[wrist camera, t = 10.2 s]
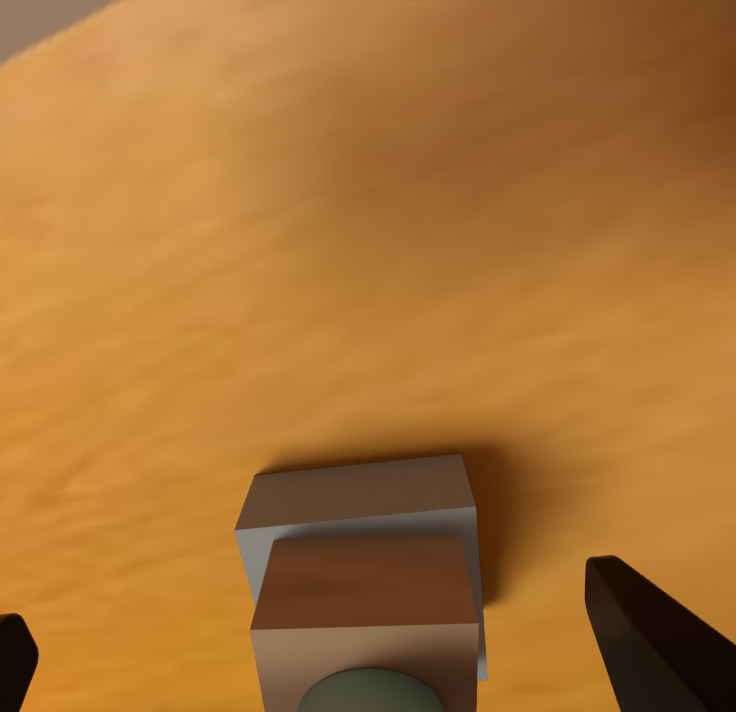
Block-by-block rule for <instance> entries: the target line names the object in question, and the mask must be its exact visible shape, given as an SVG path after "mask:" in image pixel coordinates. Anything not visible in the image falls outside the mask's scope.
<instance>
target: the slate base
mask: <svg viewBox="0 0 736 712" xmlns="http://www.w3.org/2000/svg"><path fill="white" fill-rule="evenodd" d="M234 531H235V534H236V538H237V541H238V545H239V549H240V552H241V556H242V560H243V563H244V567H245V571H246V574H247V578H248V581H249V585H250V589H251V592H252V596H253V600H254V603H255V607H256V605H257V601H258V598H259V594H260V590H261V586H262V582H263V578H264V574H265V571H266V567H267V563H268V559H269V555H270V551H271V548H272V544H273V541H275V540H304V539H333V538H362V537H391V536H420V535H449V534H460V538H461V542H462V547H463V552H464V556H465V561H466V566H467V570H468V575H469V580H470V584H471V589H472V594H473V598H474V603H475V608H476V612H477V617H478V622H479V637H478V672H477V681H482V680H488V675H487V660H486V646H485V631H484V617H483V603H482V588H481V574H480V559H479V545H478V531H477V516H476V505H475V502H474V498H473V494H472V491H471V487H470V484H469V480H468V476H467V473H466V469H465V465H464V462H463V458H462V455H461V454H451V455H442V456H432V457H423V458H413V459H404V460H394V461H385V462H375V463H366V464H356V465H347V466H337V467H328V468H318V469H309V470H299V471H290V472H280V473H271V474H261V475H254V478H253V481H252V484H251V486H250V489H249V492H248V495H247V497H246V500H245V503H244V506H243V508H242V511H241V514H240V516H239V519H238V522H237V525H236V527H235V530H234Z"/></svg>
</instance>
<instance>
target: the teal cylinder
mask: <svg viewBox="0 0 736 712" xmlns="http://www.w3.org/2000/svg"><path fill="white" fill-rule="evenodd" d="M297 712H445V710H444V707H443V705H442V702H441V701H440V699H439V698H438V696H437V695H436V694H435V693H434V692H433V691H432V690H431V689H430V688H429V687H427V686H426V685H425V684H423V683H422V682H420V681H418V680H417V679H415V678H412V677H410V676H408V675H405V674H402V673H399V672H395V671H390V670H383V669H356V670H349V671H345V672H341V673H338V674H335V675H332V676H330V677H328V678H326V679H323V680H322V681H320V682H319V683H317V684H315V685H314V686H313V687H312V688H311V689H310V690H308V692H307V693H306V694H305V695H304V696H303V698H302V700H301V701H300V703H299V706H298V709H297Z"/></svg>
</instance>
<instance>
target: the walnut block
mask: <svg viewBox="0 0 736 712" xmlns="http://www.w3.org/2000/svg"><path fill="white" fill-rule="evenodd" d="M250 632H251V638H252V643H253V649H254V654H255V660H256V665H257V671H258V676H259V682H260V687H261V693H262V698H263V703H264V709H265V712H297V709H298V706H299V703H300V701H301V700H302V698H303V696H304V695H305V694H306V693H307V692H308V690H310V689H311V688H312V687H313V686H314V685H315V684H317V683H319V682H320V681H322V680H323V679H326V678H328V677H330V676H332V675H335V674H338V673H341V672H345V671H349V670H356V669H383V670H390V671H395V672H399V673H402V674H405V675H408V676H410V677H412V678H415V679H417V680H418V681H420V682H422V683H423V684H425V685H426V686H427V687H429V688H430V689H431V690H432V691H433V692H434V693H435V694H436V695H437V696H438V698H439V699H440V701H441V702H442V705H443V707H444V710H445V712H476V708H477V672H478V637H479V622H478V617H477V612H476V608H475V603H474V598H473V594H472V589H471V584H470V580H469V575H468V570H467V566H466V561H465V556H464V552H463V547H462V542H461V538H460V534H449V535H420V536H391V537H362V538H333V539H304V540H275V541H273V544H272V548H271V551H270V555H269V559H268V563H267V567H266V571H265V574H264V578H263V582H262V586H261V590H260V594H259V598H258V601H257V605H256V609H255V613H254V617H253V621H252V625H251V628H250Z"/></svg>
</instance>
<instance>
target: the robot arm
mask: <svg viewBox="0 0 736 712" xmlns="http://www.w3.org/2000/svg"><path fill="white" fill-rule="evenodd" d="M585 604H586V609H587V613H588V616H589V619H590V622H591V625H592V628H593V631H594V634H595V637H596V640H597V643H598V646H599V649H600V652H601V655H602V658H603V661H604V663H605V666H606V669H607V672H608V675H609V678H610V681H611V684H612V687H613V690H614V693H615V696H616V699H617V702H618V705H619V707H620V710H621V712H736V645H735V644H734V643H733V642H731V641H730V640H729V639H727V638H726V637H725V636H723V635H722V634H721V633H719V632H718V631H717V630H715V629H714V628H713V627H711V626H710V625H709V624H707V623H706V622H704V621H703V620H702V619H700V618H699V617H698V616H696V615H695V614H694V613H692V612H691V611H690V610H688V609H687V608H686V607H684V606H683V605H682V604H680V603H679V602H678V601H676V600H675V599H674V598H672V597H671V596H670V595H668V594H667V593H666V592H664V591H663V590H662V589H660V588H659V587H657V586H656V585H655V584H653V583H652V582H651V581H649V580H648V579H647V578H645V577H644V576H643V575H641V574H640V573H639V572H637V571H636V570H635V569H633V568H632V567H631V566H629V565H628V564H627V563H625V562H624V561H623V560H621V559H620V558H618V557H616V556H613V555H607V556H597V557H590V558H589V559H588V560H587V562H586V572H585ZM38 657H39V652H38V647H37V645H36V643H35V641H34V639H33V637H32V635H31V633H30V631H29V629H28V627H27V625H26V623H25V621H24V619H23V618H22V616H20V615H19V614H16V613H10V614H0V712H19V711H20V709H21V706H22V703H23V701H24V698H25V696H26V693H27V690H28V688H29V685H30V682H31V680H32V677H33V675H34V672H35V669H36V667H37V663H38Z"/></svg>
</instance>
